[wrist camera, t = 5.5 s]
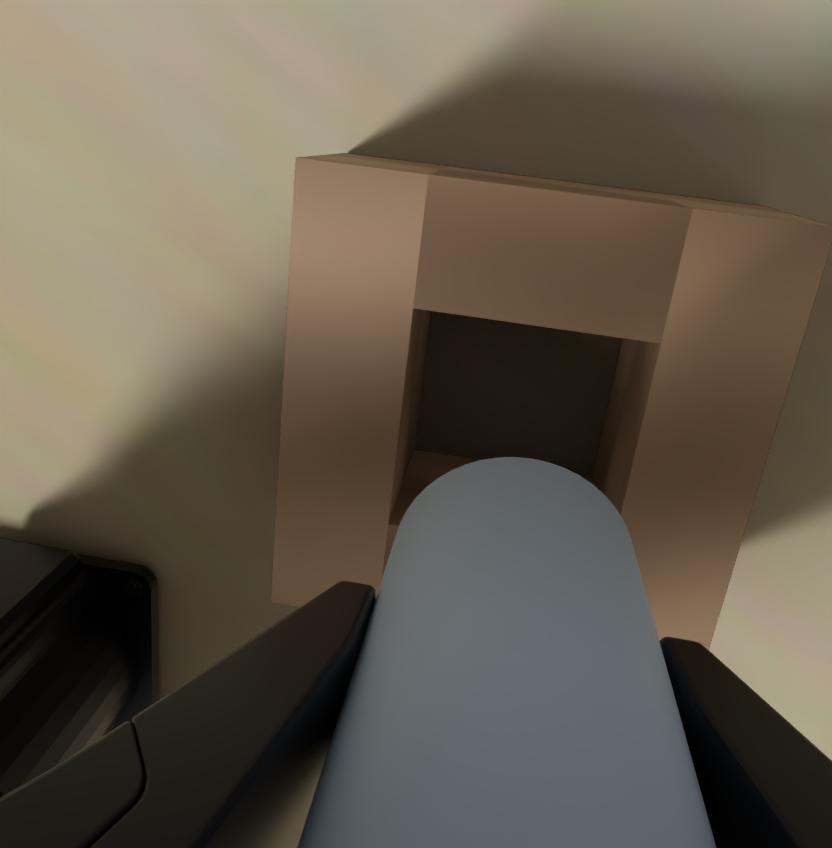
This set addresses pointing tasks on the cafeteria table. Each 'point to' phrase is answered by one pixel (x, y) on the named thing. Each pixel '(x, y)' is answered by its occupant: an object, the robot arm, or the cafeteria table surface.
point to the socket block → (547, 307)
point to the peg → (509, 682)
